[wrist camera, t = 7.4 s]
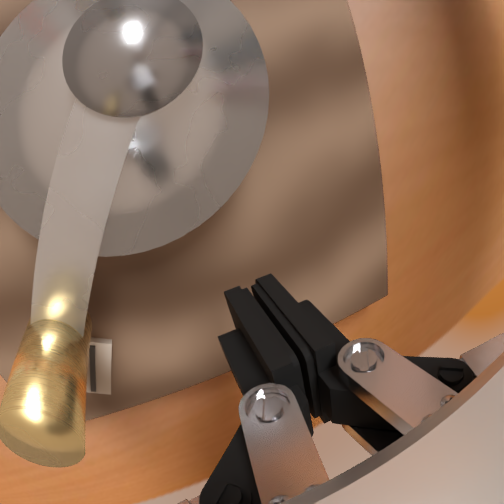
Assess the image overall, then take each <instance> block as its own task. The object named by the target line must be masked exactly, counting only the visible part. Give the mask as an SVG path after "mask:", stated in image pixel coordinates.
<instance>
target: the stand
mask: <svg viewBox="0 0 504 504" xmlns="http://www.w3.org/2000/svg"><path fill="white" fill-rule="evenodd" d="M32 1H34V0H0V37H1V35H2V34H3V32H4V31H5V30H6V29H7V27H8V26H9V25H10V23H11V22H12V21H13V20H14V19H15V17H16V16H17V15H18V14H19V13H20V12H21V11H22V10H23V9H25V8H26V7H27V6H28V5H29V4H30V3H31V2H32ZM230 1H231V2H232V3H233V4H234V5H235V6H236V7H237V8H238V9H239V10H240V12H241V13H242V14H243V16H244V17H245V19H246V20H247V22H248V23H249V24H250V26H251V28H252V30H253V32H254V34H255V36H256V38H257V40H258V42H259V44H260V47H261V50H262V53H263V56H264V59H265V63H266V69H267V74H268V82H269V107H268V117H267V122H266V127H265V132H264V135H263V138H262V141H261V144H260V147H259V150H258V153H257V155H256V157H255V159H254V161H253V163H252V165H251V168H250V170H249V171H248V173H247V174H246V176H245V177H244V179H243V181H242V182H241V184H240V185H239V187H238V188H237V189H236V191H235V192H234V193H233V194H232V195H231V197H230V198H229V199H228V201H227V202H226V203H225V204H224V205H223V206H222V207H221V208H220V209H219V210H218V211H217V212H215V213H214V214H213V215H212V216H211V217H210V218H209V219H207V220H206V221H205V222H203V223H202V224H201V225H200V226H198V227H197V228H195V229H194V230H192V231H190V232H189V233H187V234H186V235H184V236H182V237H181V238H179V239H176V240H174V241H172V242H170V243H168V244H166V245H163V246H161V247H157V248H154V249H151V250H148V251H145V252H141V253H136V254H131V255H125V256H111V257H102V256H98V258H97V263H96V268H95V272H94V277H93V282H92V287H91V293H90V298H89V304H88V310H87V311H88V313H89V315H90V318H91V321H92V331H91V339H90V349H89V360H88V372H87V387H86V409H85V421H87V420H90V419H94V418H97V417H101V416H104V415H108V414H111V413H114V412H117V411H121V410H124V409H127V408H130V407H133V406H136V405H139V404H142V403H146V402H148V401H151V400H154V399H157V398H160V397H163V396H166V395H169V394H172V393H174V392H177V391H180V390H183V389H185V388H188V387H191V386H193V385H196V384H199V383H201V382H204V381H206V380H209V379H211V378H214V377H217V376H219V375H222V374H224V373H226V372H229V371H231V369H230V366H229V364H228V362H227V359H226V357H225V354H224V352H223V350H222V347H221V345H220V342H219V339H218V336H220V335H222V334H225V333H227V332H230V331H232V330H235V329H236V328H235V325H234V322H233V319H232V316H231V314H230V311H229V308H228V305H227V302H226V299H225V295H224V291H227V290H229V289H232V288H234V287H237V286H240V287H241V289H244V288H246V287H247V288H248V290H249V291H250V292H251V294H252V295H253V293H252V289H251V285H254V284H255V279H257V278H260V277H262V276H265V275H267V274H270V273H271V274H272V275H273V276H274V277H275V278H276V279H277V280H278V281H279V282H280V283H281V285H282V286H283V287H284V288H285V289H286V290H287V291H288V292H289V293H290V294H291V295H292V296H293V298H294V299H295V300H296V301H297V302H298V303H299V302H301V301H304V300H309V301H310V302H311V303H312V304H313V305H314V306H315V307H316V308H317V309H318V310H319V311H320V312H321V313H322V314H323V315H324V316H325V317H326V318H327V319H328V320H329V321H330V322H331V323H332V324H334V323H336V322H338V321H340V320H342V319H344V318H346V317H348V316H350V315H352V314H353V313H355V312H357V311H359V310H361V309H363V308H365V307H367V306H368V305H370V304H372V303H374V302H376V301H378V300H379V299H381V298H383V297H385V296H387V295H388V271H387V239H386V221H385V207H384V194H383V184H382V174H381V165H380V156H379V149H378V141H377V134H376V127H375V121H374V115H373V109H372V103H371V98H370V92H369V87H368V82H367V77H366V72H365V68H364V63H363V59H362V54H361V50H360V46H359V42H358V38H357V34H356V30H355V26H354V22H353V19H352V15H351V12H350V8H349V5H348V1H347V0H230ZM38 242H39V239H37V238H35V237H34V236H32V235H31V234H29V233H28V232H27V231H25V230H24V229H22V228H21V227H20V226H19V225H18V224H17V223H15V222H14V221H13V220H12V219H11V218H10V217H9V216H8V215H7V214H6V213H5V211H4V210H3V209H2V208H1V206H0V375H1V376H2V377H3V378H4V380H5V381H6V382H8V378H9V375H10V372H11V369H12V366H13V363H14V360H15V357H16V354H17V351H18V349H19V346H20V343H21V340H22V338H23V335H24V332H25V330H26V327H27V325H28V322H29V320H30V317H31V306H32V292H33V281H34V272H35V263H36V255H37V248H38Z"/></svg>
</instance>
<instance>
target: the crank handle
mask: <svg viewBox="0 0 504 504" xmlns="http://www.w3.org/2000/svg"><path fill="white" fill-rule="evenodd" d="M268 107H269V82H268V74H267V69H266V63H265V59H264V56H263V53H262V50H261V47H260V44H259V42H258V40H257V38H256V36H255V34H254V32H253V30H252V28H251V26H250V24H249V23H248V22H247V20H246V19H245V17H244V16H243V14H242V13H241V12H240V10H239V9H238V8H237V7H236V6H235V5H234V4H233V3H232V2H231V1H230V0H34V1H32V2H31V3H30V4H29V5H28V6H27V7H26V8H25V9H23V10H22V11H21V12H20V13H19V14H18V15H17V16H16V17H15V19H14V20H13V21H12V22H11V23H10V25H9V26H8V27H7V29H6V30H5V31H4V32H3V34H2V35H1V37H0V206H1V208H2V209H3V210H4V211H5V213H6V214H7V215H8V216H9V217H10V218H11V219H12V220H13V221H14V222H15V223H17V224H18V225H19V226H20V227H21V228H22V229H24V230H25V231H27V232H28V233H29V234H31V235H32V236H34V237H35V238H37V239H39V242H38V248H37V255H36V263H35V272H34V281H33V292H32V306H31V317H30V320H29V322H28V325H27V327H26V330H25V332H24V335H23V338H22V340H21V343H20V346H19V349H18V351H17V354H16V357H15V360H14V363H13V366H12V369H11V372H10V375H9V378H8V382H7V385H6V388H5V392H4V395H3V399H2V403H1V406H0V439H1V441H2V442H3V443H4V444H5V445H6V446H7V447H8V448H9V449H10V450H11V451H13V452H14V453H15V454H17V455H18V456H20V457H22V458H24V459H26V460H28V461H30V462H33V463H36V464H39V465H43V466H48V467H68V466H72V465H75V464H77V463H78V462H80V461H81V460H82V459H83V457H84V455H85V409H86V387H87V372H88V360H89V349H90V339H91V331H92V321H91V318H90V315H89V313H88V311H87V310H88V304H89V298H90V293H91V287H92V282H93V277H94V272H95V268H96V263H97V258H98V256H102V257H111V256H125V255H131V254H136V253H141V252H145V251H148V250H151V249H154V248H157V247H161V246H163V245H166V244H168V243H170V242H172V241H174V240H176V239H179V238H181V237H182V236H184V235H186V234H187V233H189V232H190V231H192V230H194V229H195V228H197V227H198V226H200V225H201V224H202V223H203V222H205V221H206V220H207V219H209V218H210V217H211V216H212V215H213V214H214V213H215V212H217V211H218V210H219V209H220V208H221V207H222V206H223V205H224V204H225V203H226V202H227V201H228V199H229V198H230V197H231V195H232V194H233V193H234V192H235V191H236V189H237V188H238V187H239V185H240V184H241V182H242V181H243V179H244V177H245V176H246V174H247V173H248V171H249V170H250V168H251V165H252V163H253V161H254V159H255V157H256V155H257V153H258V150H259V147H260V144H261V141H262V138H263V135H264V132H265V127H266V122H267V117H268Z"/></svg>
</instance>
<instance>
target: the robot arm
mask: <svg viewBox="0 0 504 504" xmlns="http://www.w3.org/2000/svg"><path fill="white" fill-rule="evenodd" d="M251 289H252V293H253V295H252V294H251V292H250V291H249V290H248V288H247V287H246V288H244V289H241V287H240V286H237V287H234V288H232V289H229V290H227V291H224V295H225V299H226V302H227V305H228V308H229V311H230V314H231V316H232V319H233V322H234V325H235V328H236V329H235V330H232V331H230V332H227V333H225V334H222V335H220V336H218V339H219V342H220V345H221V347H222V350H223V352H224V354H225V357H226V359H227V362H228V364H229V366H230V369H231V371H232V373H233V375H234V377H235V379H236V382H237V384H238V386H239V388H240V390H241V392H242V394H243V398H242V399H241V401H240V404H239V416H240V420H241V425H240V427H239V428H238V430H237V432H236V434H235V435H234V437H233V439H232V441H231V442H230V444H229V446H228V448H227V449H226V451H225V453H224V454H223V456H222V458H221V459H220V461H219V463H218V465H217V466H216V468H215V470H214V471H213V473H212V475H211V476H210V478H209V479H208V481H207V483H206V484H205V486H204V488H203V489H202V492H201V494H200V495H199V496H197V497H196V498H194V499H192V500H190V501H188V500H187V499H186V500H184V501H182V502H180V503H178V504H504V333H502V334H499V335H498V336H496V337H494V338H492V339H490V340H489V341H487V342H485V343H483V344H481V345H479V346H477V347H475V348H473V349H471V350H470V351H467V352H466V353H463V354H462V355H461V356H460V359H453V358H434V357H410V356H401V355H400V354H399V353H397V352H396V351H394V350H393V349H391V348H390V347H388V346H387V345H385V344H384V343H382V342H380V341H378V340H376V339H370V338H360V339H356V340H353V341H351V342H350V341H349V340H348V339H347V338H346V337H345V336H344V335H343V334H342V333H341V332H340V331H339V330H338V329H337V328H336V327H335V326H334V325H333V324H332V323H331V322H330V321H329V320H328V319H327V318H326V317H325V316H324V315H323V314H322V313H321V312H320V311H319V310H318V309H317V308H316V307H315V306H314V305H313V304H312V303H311V302H310V301H309V300H304V301H301V302H299V303H298V302H297V301H296V300H295V299H294V298H293V296H292V295H291V294H290V293H289V292H288V291H287V290H286V289H285V288H284V287H283V286H282V285H281V283H280V282H279V281H278V280H277V279H276V278H275V277H274V276H273V275H272V274H271V273H270V274H267V275H265V276H262V277H260V278H257V279H255V284H254V285H251ZM310 413H311V415H312V416H313V417H314V418H316V417H318V416H320V418H321V419H322V421H323V422H324V423H326V422H328V421H330V420H331V422H332V423H336V424H342V427H343V428H344V429H345V431H346V432H347V433H349V435H351V437H353V438H354V439H355V440H356V441H357V442H358V443H359V444H360V445H361V446H362V447H363V448H364V449H365V450H367V451H368V452H369V453H370V454H371V455H372V457H370V458H368V459H367V460H365V461H363V462H362V463H360V464H358V465H356V466H355V467H353V468H351V469H349V470H347V471H346V472H344V473H342V474H340V475H338V476H336V477H335V478H333V479H331V480H329V478H328V476H327V473H326V471H325V468H324V466H323V464H322V461H321V459H320V456H319V454H318V451H317V449H316V447H315V444H314V442H313V440H312V436H313V427H312V421H311V415H310Z"/></svg>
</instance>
